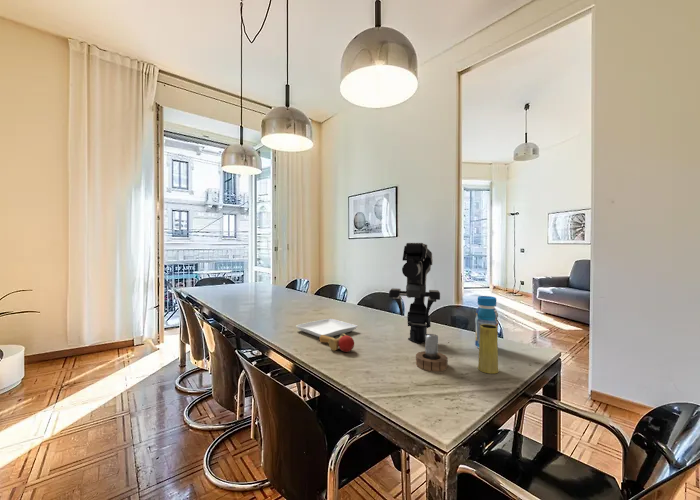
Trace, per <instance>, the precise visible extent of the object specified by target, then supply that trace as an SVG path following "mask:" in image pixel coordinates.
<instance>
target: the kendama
mask: <svg viewBox="0 0 700 500" xmlns="http://www.w3.org/2000/svg"><path fill="white" fill-rule="evenodd" d="M318 338H319V342H320V343H327V344H328V347H329V349H331V350H332V351H337V350H338V349H339V350H341V352H344V353H349V352H351V351H352V350H353V349H354V347H355V340H354V338H353V337H351V336H350V335H347V333H345V334H341V335H339V337H338V338H334V337H328V336H325V335H321V336H320V337H318Z"/></svg>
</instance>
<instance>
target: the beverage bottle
mask: <svg viewBox="0 0 700 500" xmlns="http://www.w3.org/2000/svg"><path fill="white" fill-rule="evenodd" d="M477 305H478V307H477V309H476V311H475V319H474V323H475V341H474V345H475V347H476V348H477V349H479V339H480V325H482V324H490V325H494V326H497V327H498V328H499V320H498V317H499V312H498V311H497V309H496V308H495V307H497V297H495V296H490V295H479V296H477ZM498 342H499V341H497V346H498V347H499V344H498Z"/></svg>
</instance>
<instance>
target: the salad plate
mask: <svg viewBox="0 0 700 500" xmlns="http://www.w3.org/2000/svg"><path fill="white" fill-rule="evenodd" d="M358 326H359V325H357V324H353V323H350V322H347V321H346V322H345V321H341V320H338V319H335V318H334V319H333V318H331V317H330V318H325V319H319V320H313V321H309V322H304V323H299V324H297V325H295V327H296V329H298V330H299V331H301V332H304V333H306V334H309V335H312V336H315V337H317V338H320V336H321V335H325V336H328V337H332V338H334V337H336V336H340V335H341V334H348V333H349V332H352V331H354V330H357V329H356V328H358Z"/></svg>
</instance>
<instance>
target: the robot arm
mask: <svg viewBox="0 0 700 500" xmlns="http://www.w3.org/2000/svg"><path fill="white" fill-rule="evenodd" d="M403 261H404V262H405V264H403V266H402V269H401V271H402V274H403V276H404V277H406V286H405V290H401V288H394V287H392V288H391V289H390V290H389V292H388V298H392V300H393V301H395V302H396V305H397V307H398V309H399V313H400V315H401V316H403V314H404V311H403V300H402V297H404V296H405V297H407V298H408V299H411V298H414V300H413V302H412V303H410V305H409V311H407V317H406V318H407V327H410V329H409V337H408V338H407V339H408V340H409V341H411V342H414V343H416V344H421V343H425V340H426V334H428V333H427V329H428V328H431V325H432V324H431V323H432V322H431V316H430V314H429V313H430V310H431V308H432V305H433V304H434V303H436V302H437V301H439V300H441V292H440V290H439V289H429V290H428V291H427V275H428V273H430V271H431V269H432V266H433V253H432V251H430V249H429V248H428V244H426V243H423V242H406V243H405V245H404V247H403V254H402V262H403ZM426 297H427V304H425V300H426Z"/></svg>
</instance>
